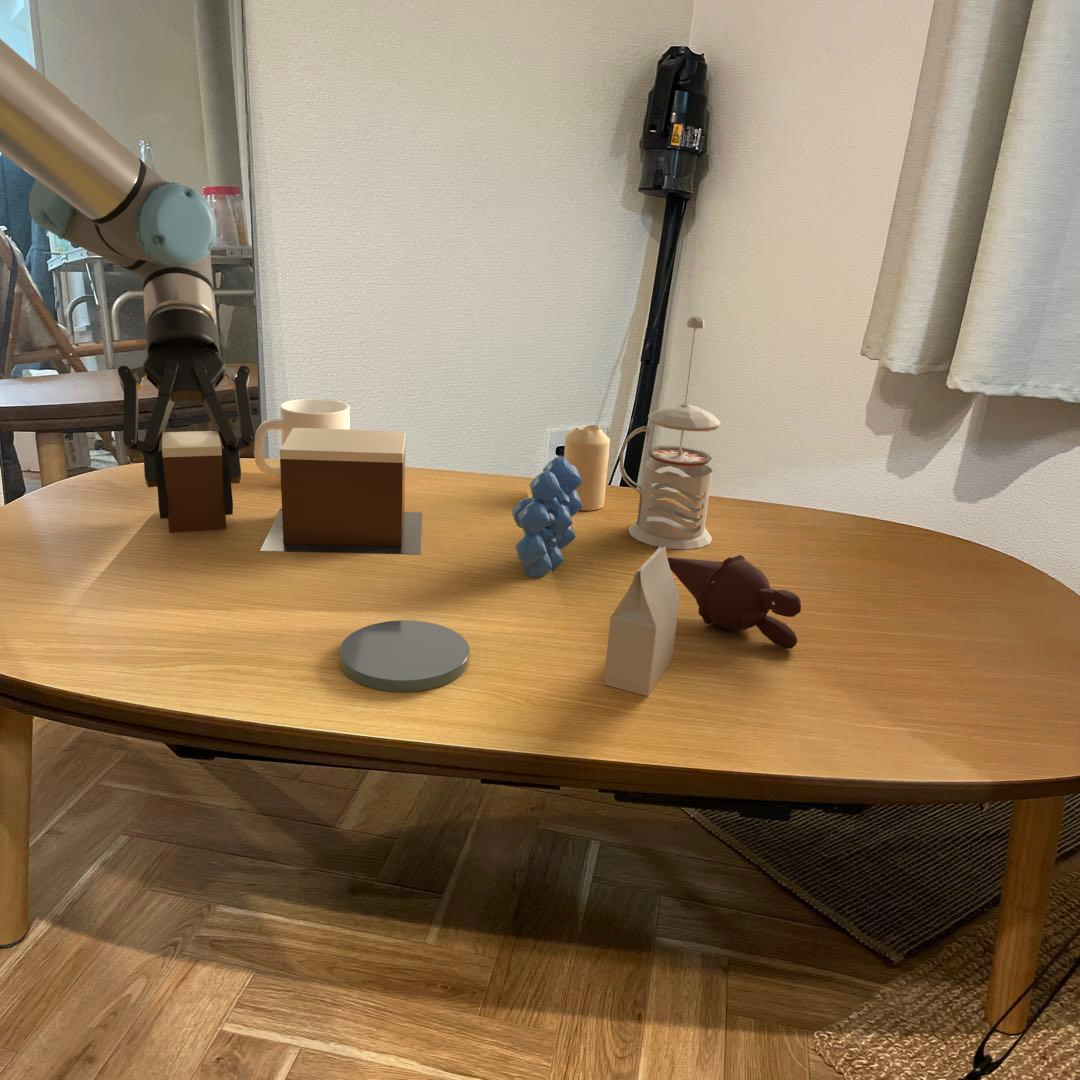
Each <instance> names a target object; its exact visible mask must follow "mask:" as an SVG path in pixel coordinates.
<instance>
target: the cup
mask: <svg viewBox="0 0 1080 1080" xmlns="http://www.w3.org/2000/svg"><path fill="white" fill-rule="evenodd" d="M350 408H351V407H350V405H349V404H348V403H346V402H344V401H339V400H334V399H326V398H301V399H300V398H299V399H293V400H287V401H285V402H282V403H281V404H280V406H279V412H280V413H279V414H280V418H272V419H267V420H264V421H263V422H261V423H260V424H259V426H258V428H257V429H256V432H255V450H254V452H253V456H254V461H255V464H256V467H257V468H258V469H259V471H260V472H261V473H262V474H264V475H266V476H268V477H272V478H281V471H280V466H270V465H269V464H268V463H267V462H266V460H265V456H264V441H265V438H266V434H267V433H268V432H269V431H272V430H280V437H281V439H280V440H281V446H282V445H283V444H284V442H285V440H286V439H287V437H288V435H289V434H290V432H291V430H292V429H293V428H318V429H346V430H351V417H350V416H351V415H350Z"/></svg>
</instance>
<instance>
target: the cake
mask: <svg viewBox="0 0 1080 1080" xmlns="http://www.w3.org/2000/svg"><path fill="white" fill-rule="evenodd" d="M279 467H280V471H281V477H280V493H281V494H280V495H281V509H282V523H283V544H311V545H360V546H402V538H403V527H404V512H405V498H406V497H405V496H406V495H405V494H406V431H400V430H398V431H397V430H373V429H372V430H371V429H370V430H369V429H350V430H346V429H318V428H293V429H292V430H291V432H290V434H289V435H288V437H287V439H286V440H285V442H284V444H283V445H282V444H281V447H280V448H279Z"/></svg>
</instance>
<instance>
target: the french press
mask: <svg viewBox="0 0 1080 1080" xmlns="http://www.w3.org/2000/svg"><path fill="white" fill-rule="evenodd" d="M686 328H690V329H693V335H692V343H691V349H690V350H691V351H690V359H689V368H688V376H687V385H686V392H685V400H684V403H681V404H670V405H666V406H662V407H660V408H658V409H656V410H654V411H652V412H651V413H649V414H648V415H647V417H648V419H649V421H650V423H651V424H653V425H655V426H658V427H662V428H666V429H671V430H678V431H681V434H680V442H679V445H677V446H676V445H670V444H669V445H658V446H653V447H651V448H650V449H649V450H647V453H648V455H649V457H650V458H651V459H647V460H646V462H645V463H644V468H643V477H642V486H641V485H639V484H638V483H636V482H635V481H633V479H631V478H630V476H629V475H628V474H627V473H626V469H625V466H624V451H625V448H626V446H627V444H628V443H629V441H630V440H632V438H634V437H635V436H636V435H638V434H640V433H642V432H643V433H644V432H645V441H646V442H648V441H649V440H650V431H651V428H650V427H649V426H646V425H643V426H640V427H638V428H635V429H634V430H633V431H632V432H631V433H629V434H628V435H627V437H626V438H625V440H624V441H623V444H622V446H621V450H620V452H619V471H620V474H621V477H622V480H623V481H624V482H625V483H626V484H627V485H628V486H629V487H630V488H632V489H633V490H634V491H635V492H637V493H638V495H639V498H638V508H637V509H638V510H637V520H636V521H635V522H634V523H632V524H631V525H630V526H629V528H628V529H627V530H628V532H629V535H630V536H631V537H632V538H634V539H635V540H637V541H638V542H640V543H644V544H647V545H649V546H653V547H658V548H659V547H660V546H661V548H663V547H665V546H666V549H667V550H669V549H670V550H693V549H700V548H703V547H706V546H709V545H710V544H711V542H712V541H713V538H712V536H711V534H710V532H709V531H708V530H707V529H706V521H707V514H708V507H709V499H710V491H711V484H712V476H713V469H712V467H710V466H709V465H707V464H709V463H710V462H711V460H712V459H713V457H712V456H711V455H710V454H709V453H708V452H706V451H704V450H702V449H697V448H695V447H694V448H693V447H687V446H683V441H684V440H683V439H684V432H685V431H686V432H712V431H716V430H717V429H719V427H720V426H721V421H720V420H719V419H718V418H717V417H716V416H715V415H714V414H713V413H711V412H709V411H707V410H706V409H703V408H701V407H698V406H695V405H691V404H690V403H688V399H689V390H690V381H691V374H692V365H693V356H694V349H695V340H696V331H697V329H705V320H704V319H703V317H700V316H691V317H690V318H689V319H688V320H687V322H686ZM667 467H672V468H675V469H678V470H680V471H682V472H683V473H684V474H686V475H687V476H682V475H681V474H679V473H677V472H674V471H664V472H657V471H658V470H660V469H663V468H667ZM632 484H633V485H632ZM666 488H670V489H673V490H676V491H678V492H679V493H678V492H675V491H672V490H670V489H666ZM681 494H682V495H681ZM684 496H685V497H684ZM700 496H702V497H700ZM664 498H668V499H672V500H675V501H676V502H678V503H679V504H681V505H682V506H683V507H682V506H679V505H678V504H677V503H674V502H671V501H668V500H665V499H664ZM684 507H685V508H684ZM700 507H701V508H700Z"/></svg>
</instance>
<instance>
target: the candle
mask: <svg viewBox="0 0 1080 1080" xmlns="http://www.w3.org/2000/svg"><path fill="white" fill-rule="evenodd" d="M610 445H611V439H610V438H609V437H608V436H607V434H606V433H605V432H604V431H603V430H602V429H601V428H600V426H599V425H596V424H591V425H587V426H584V427H579V426H577V427H575V428H574V429H573V430H571V431H569V433H567V434H566V435H565V438H564V451H563V457H564V458H565V459H567V460H568V462H569V464H572V465H574V466H575V467H576V468H577V470H578V472H579V474H580V477H581V480H582V483H581V484H580V485H579V486H578V487H577V488H576V489H575V491H577V493H578V495H579V496H580V499H581V502H582V506H583V507H582V508H581V509H580V510H579V511H596V510H597V511H598V510H600V509H602V508H603V507H604V505H605V498H606V488H607V487H606V486H607V475H608V467H609V456H610Z"/></svg>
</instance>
